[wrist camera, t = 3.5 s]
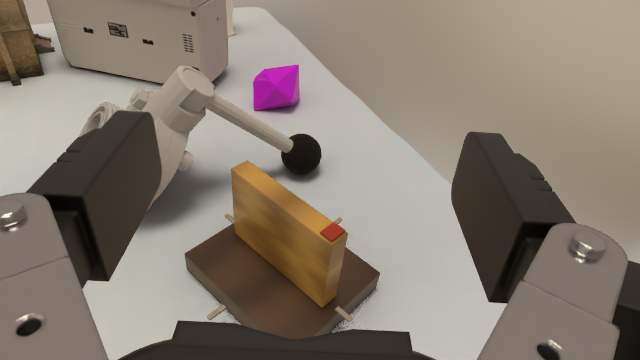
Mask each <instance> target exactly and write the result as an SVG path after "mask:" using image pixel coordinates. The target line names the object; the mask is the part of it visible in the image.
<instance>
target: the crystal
mask: <svg viewBox="0 0 640 360" xmlns="http://www.w3.org/2000/svg"><path fill="white" fill-rule="evenodd" d="M253 88H254V111H255V110H262V109H270V108H277V107H285V106H292V105H294V104H295V103H296V102H297V101H298V99H299V66H298V65H292V66H285V67H278V68H270V69H264V70H263V71H262V72H261V73H260V74H258V75H257V76H256V77H255V79H254V82H253Z"/></svg>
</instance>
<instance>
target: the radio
mask: <svg viewBox="0 0 640 360" xmlns="http://www.w3.org/2000/svg"><path fill="white" fill-rule="evenodd" d="M47 2H48V5H49V9H50V12H51V15H52V18H53V22H54V25H55V28H56V31H57V35H58V38H59V41H60V44H61V48H62V51H63V54H64V56H65V58H66V59H67V60H68V61H69V62H70V64H71V65H72V66H76V67H82V68H87V69H92V70H97V71H102V72H107V73H112V74H117V75H122V76H127V77H133V78H138V79H143V80H148V81H153V82H158V83H163V84H165V82H166V81H167V80H168V79H169V78H170V76H171V75H172V74H173V73H174V72H175V70H176V69H177V68H178V67H179V66H189V67H192V68H194V69H196V70H198V71H199V72H201V73H202V74H203V75H204V76H206V77H207V78H208V79H209V80H210V81H211V82H212V81H213V80H215V79H216V78H217V77H218V76H219V75H220V74H221V73H222V72H223V71H224V70H225V69H226V67H227V65H228V34H227V15H226V0H47Z"/></svg>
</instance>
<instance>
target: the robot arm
mask: <svg viewBox="0 0 640 360" xmlns="http://www.w3.org/2000/svg"><path fill="white" fill-rule="evenodd" d="M161 177H162V165H161V159H160V153H159V147H158V141H157V136H156V130H155V124H154V120H153V117H152V115H151V113H149V112H141V111H124V110H118V111H116V112H115V113H114V114H113V115H112V116H111V117H110V118H109V120H108V121H107V122H106V123H105V124H104V125H103V126H102V127H101V128H95V129H93V130H91V131H89V132H88V133H86V134H84V135H82V136H80V137H78V138H77V139H76V140H75V141H74V142H73V143H72V144H71V145H70V146H69V147H68V148H67V150H66V152H64V153H63V154H62V155H61V156H60V157H59V158H58V159H57V163H56V162H54V163H53V164H52V165H51V166H50V167H49V169H48V170H47V171H46V172H45V173H44V174H43V175H42V176H41V177H40V178H39V179H38V180H37V181H36V182H35V183H34V184H33V185H32V186H31V188H30V189H29V190H28V191H27V192H26V193H15V194H9V195H5V196H1V197H0V360H109V359H108V357H107V354H106V351H105V349H104V346H103V343H102V341H101V338H100V336H99V333H98V330H97V328H96V325H95V322H94V320H93V317H92V314H91V312H90V309H89V307H88V304H87V301H86V299H85V296H84V293H83V291H82V289H83V287H84V285H85V284H86V282H87V280H92V281H109V280H110V278H111V276H112V274H113V272H114V271H115V269H116V267H117V265H118V263H119V261H120V259H121V258H122V256H123V254H124V252H125V250H126V248H127V246H128V245H129V243H130V241H131V239H132V237H133V235H134V233H135V232H136V230H137V228H138V226H139V224H140V222H141V220H142V219H143V217H144V215H145V213H146V211H147V209H148V207H149V206H150V204H151V202H152V200H153V198H154V196H155V194H156V192H157V191H158V189H159V186H160V183H161ZM451 199H452V205H453V208H454V210H455V213H456V216H457V218H458V221H459V224H460V226H461V229H462V232H463V234H464V237H465V240H466V242H467V245H468V248H469V250H470V253H471V256H472V258H473V261H474V264H475V266H476V269H477V272H478V274H479V277H480V280H481V282H482V285H483V288H484V290H485V293H486V296H487V298H488V301H489V302H494V303H508V304H507V306H506V307H505V309H504V311H503V313H502V315H501V317H500V318H499V320H498V322H497V324H496V326H495V328H494V329H493V331H492V333H491V335H490V337H489V339H488V340H487V342H486V344H485V346H484V348H483V350H482V351H481V353H480V355H479V357H478V359H477V360H640V264H639V263H635V262H631V261H628V258H627V255H626V253H625V251H624V250H623V248H622V247H621V246H620V245H619V244H618V243H617V242H616V241H615V240H613V239H612V238H610V237H609V236H608V235H606V234H604V233H602V232H600V231H598V230H596V229H594V228H591V227H588V226H585V225H581V224H577V223H576V222H575V220H574V219H573V217H572V216H571V215H570V213H569V212H568V210H567V209H566V208H565V206H564V205H563V203H562V202H561V201H560V199H559V198H558V196H557V195H556V194H555V192H552V188H551V187H550V185H549V184H548V182H547V181H544V177H543V175H542V174H541V173H540V171H539V170H538V168H537V167H536V165H534V164H533V163H531V162H530V161H529V160H527V159H526V158H525V157H523V156H522V155H520V154H515V153H513V151H512V150H511V148H510V147H509V145H508V144H507V142H506V141H505V139H504V138H503V136H502V135H501V134H499V133H483V132H469V133H468V134H467V136H466V138H465V140H464V144H463V147H462V151H461V154H460V158H459V161H458V165H457V168H456V172H455V175H454V179H453V183H452V190H451ZM118 360H435V359H433V358H431V357H429V356H426V355H424V354H421V353H418V352H415V351H412V345H411V340H410V334H409V332H397V331H377V330H357V329H352V330H346V331H341V332H335V333H330V334H324V335H319V336H313V337H308V338H302V339H288V338H284V337H281V336H277V335H274V334H270V333H267V332H263V331H260V330H256V329H253V328H249V327H246V326H242V325H239V324H235V323H216V322H195V321H178V322H177V325H176V328H175V331H174V334H173V337H172V339H170V340H165V341H161V342H158V343H154V344H151V345H148V346H145V347H143V348H140V349H138V350H135V351H133V352H131V353H129V354H127V355H125V356H123V357H121V358H120V359H118Z"/></svg>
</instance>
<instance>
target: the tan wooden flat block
mask: <svg viewBox="0 0 640 360" xmlns="http://www.w3.org/2000/svg"><path fill="white" fill-rule="evenodd" d="M231 176H232V193H233V210H234V227H235V234H237V235H238V236H239V237H240V238H241V239H242V240H243V241H245V242H246V243H247V244H248V245H249V246H250V247H252V248H253V249H254V250H255V251H256V252H257V253H259V254H260V255H261V256H262V257H263V258H264V259H266V260H267V261H268V262H269V263H270V264H271V265H273V266H274V267H275V268H276V269H277V270H278V271H279V272H281V273H282V274H283V275H284V276H285V277H286V278H288V279H289V280H290V281H291V282H292V283H293V284H295V285H296V286H297V287H298V288H299V289H300V290H302V291H303V292H304V293H305V294H306V295H307V296H309V297H310V298H311V299H312V300H313V301H314V302H315V303H317V304H318V305H319V306H320V307H321V308H323V307H324V306H325V305H326V304H328V303H329V302H330V301H331V300H332V299H333V298H334V297H335V296H336V294H337V288H338V283H339V278H340V273H341V267H342V262H343V257H344V252H345V246H346V241H347V236H348V233H347V232H346V231H345V230H344V229H343V228H342V227H340V226H339V225H338V224H336V223H335V222H332V221H330V220H329V219H328V218H326V217H325V216H324V215H322V214H321V213H319V212H318V211H317V210H315V209H314V208H313V207H311V206H310V205H308V204H307V203H306V202H304V201H303V200H301V199H300V198H299V197H297V196H296V195H295V194H293V193H292V192H290V191H289V190H288V189H286V188H285V187H284V186H282V185H281V184H279V183H278V182H277V181H275V180H274V179H272V178H271V177H270V176H268V175H267V174H266V173H264V172H263V171H261V170H260V169H259V168H257V167H256V166H255V165H253V164H252V163H250V162H249V161H245V162H244V163H242V164H240V165H238V166H236V167H234V168H232V169H231Z"/></svg>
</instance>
